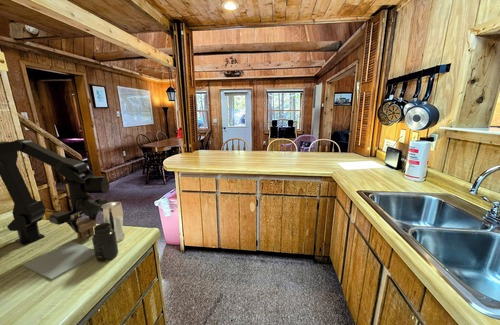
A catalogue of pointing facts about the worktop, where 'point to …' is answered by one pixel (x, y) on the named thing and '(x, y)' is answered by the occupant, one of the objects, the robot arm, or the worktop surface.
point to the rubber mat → (60, 260)
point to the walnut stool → (85, 228)
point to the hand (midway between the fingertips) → (84, 229)
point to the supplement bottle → (104, 242)
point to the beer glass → (114, 218)
